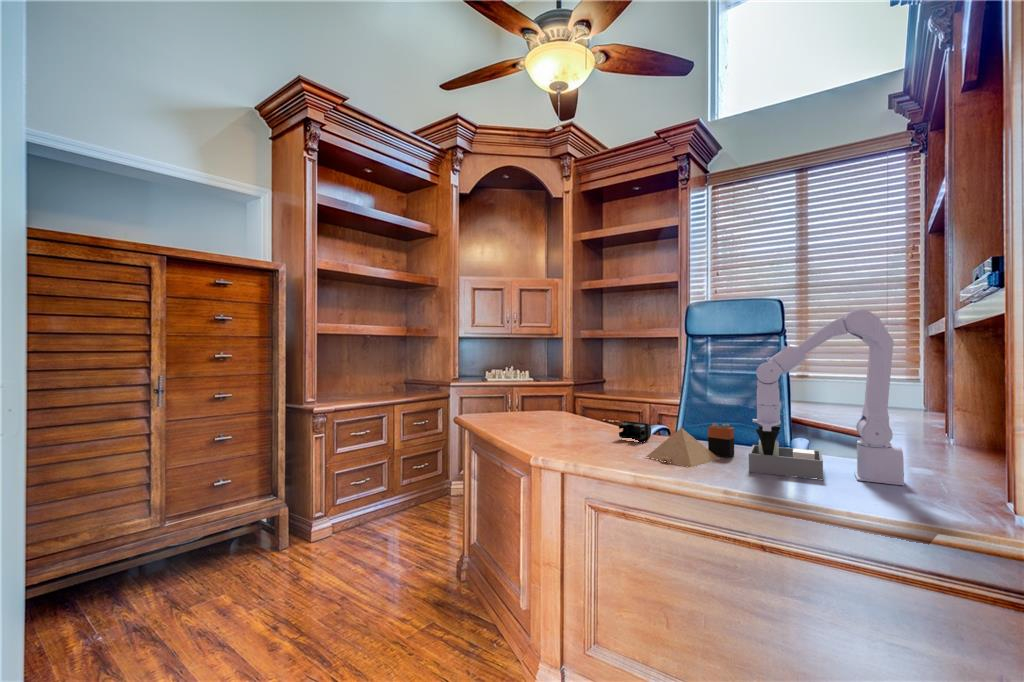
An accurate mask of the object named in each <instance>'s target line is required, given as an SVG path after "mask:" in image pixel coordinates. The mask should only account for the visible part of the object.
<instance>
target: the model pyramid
mask: <svg viewBox="0 0 1024 682" xmlns="http://www.w3.org/2000/svg"><path fill="white" fill-rule="evenodd" d="M645 457H649V458H654V459H658V460H661V461H663V462H664V461H666V462H667V463H670V462H671V463H675V464H679V465H678V466H680V465H684V466H683V467H685V466H688V467H687V468H689V467H693V468H695V467H694V466H696V467H699V466H698V465H700V466H702V465H701V464H703V465H705V463H706V464H709V463H712V462H711V461H713V462H715V460H716V461H719V460H720V458H719V456H716V455H714V454H713V453H712V452H711V451H710V450H708V448H707V447H706V446H705V445H703V444H702V443H701V442H700V441H698V440H697V439H696V438H695V437H694V436H692V435H691V434H689V432H688V431H686V430H685V429H684V428H683V427H680V428H679V429H678V430H677V431H675V432H674V433H673V434H672V435H671V436H669V437H668V438H667V439H666V440H665V441H664V442H662V443H661V444H660V445H659V446H657V447H656V448H654V450H653V451H651V452H650V453H648V454H647V455H646V456H645ZM661 461H660V462H661ZM666 462H664V463H666ZM708 462H709V463H708ZM667 463H666V464H667ZM671 463H670V464H671ZM675 464H674V465H675Z"/></svg>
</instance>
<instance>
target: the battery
mask: <svg viewBox="0 0 1024 682" xmlns="http://www.w3.org/2000/svg"><path fill="white" fill-rule="evenodd" d="M707 446H708V448H707V449H708V450H710V451H711V452H712V453H713V454H714V455H716V456H717V457H722V458H729V459H730V457H733V456H735V427H733V426H730V424H729V423H722V424H721V425H720V424H719V423H715V422H714V423H712V425H709V426H707Z"/></svg>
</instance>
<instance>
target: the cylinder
mask: <svg viewBox="0 0 1024 682" xmlns="http://www.w3.org/2000/svg"><path fill="white" fill-rule="evenodd" d="M758 445H759V454H762V455H764V453H763V449H762V444H761V440H760V438H759V439H758ZM779 446H780V445H779V440H778V439H776V440H775V445H774V451H773V455H772V456H779Z"/></svg>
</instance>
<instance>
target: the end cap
mask: <svg viewBox="0 0 1024 682" xmlns="http://www.w3.org/2000/svg"><path fill="white" fill-rule="evenodd" d="M618 429H619V430H621V431H619V432H618V436H619V438H632V439H635V440H638V441H639V442H644V441H647V442H648V441H649V440H650V438H651V436H652V426H651V425H650V423H646V422H638V421H631V420H629V421H628V420H623V421H622V423H619V424H618ZM644 443H645V442H644Z"/></svg>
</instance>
